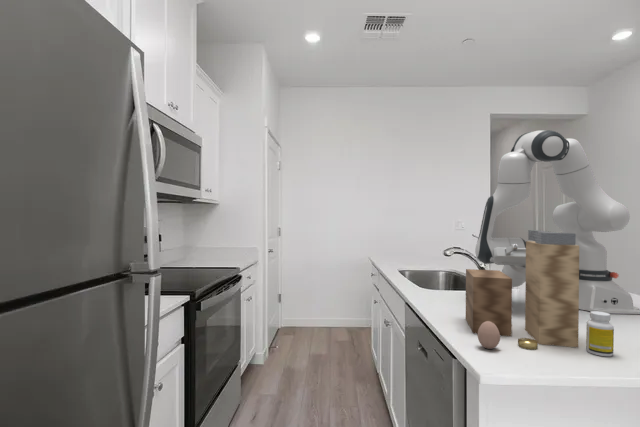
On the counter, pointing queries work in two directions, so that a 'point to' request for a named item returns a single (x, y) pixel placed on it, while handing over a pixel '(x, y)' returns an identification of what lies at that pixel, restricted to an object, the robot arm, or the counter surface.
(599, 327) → the supplement bottle
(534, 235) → the hook bar
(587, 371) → the counter surface
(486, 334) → the egg
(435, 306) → the counter surface
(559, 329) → the oak shelf block
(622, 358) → the counter surface
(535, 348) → the brass disc
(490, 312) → the walnut block
